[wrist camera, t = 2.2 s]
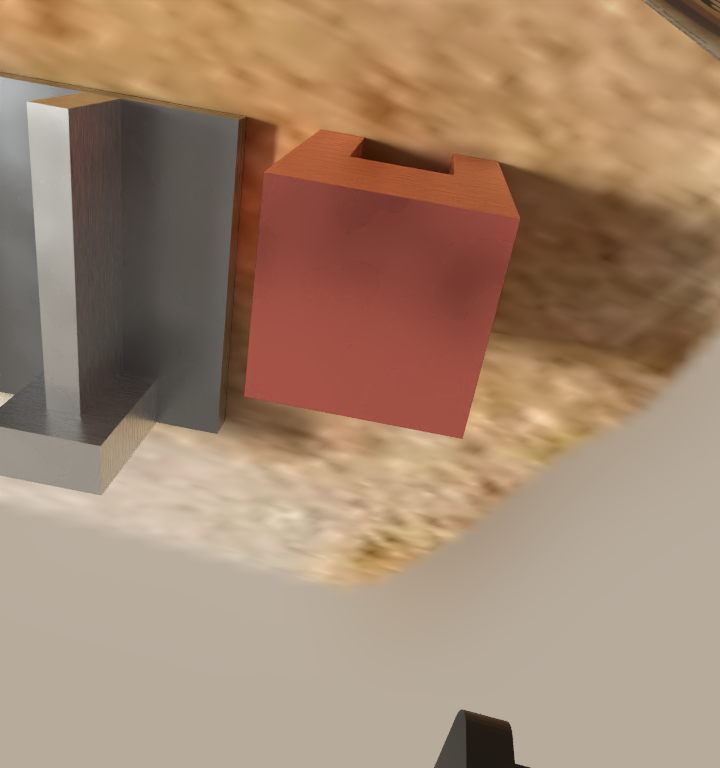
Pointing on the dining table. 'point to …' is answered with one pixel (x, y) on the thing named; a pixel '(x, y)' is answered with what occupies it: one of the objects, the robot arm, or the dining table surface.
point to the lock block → (377, 284)
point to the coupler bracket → (111, 275)
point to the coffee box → (693, 20)
